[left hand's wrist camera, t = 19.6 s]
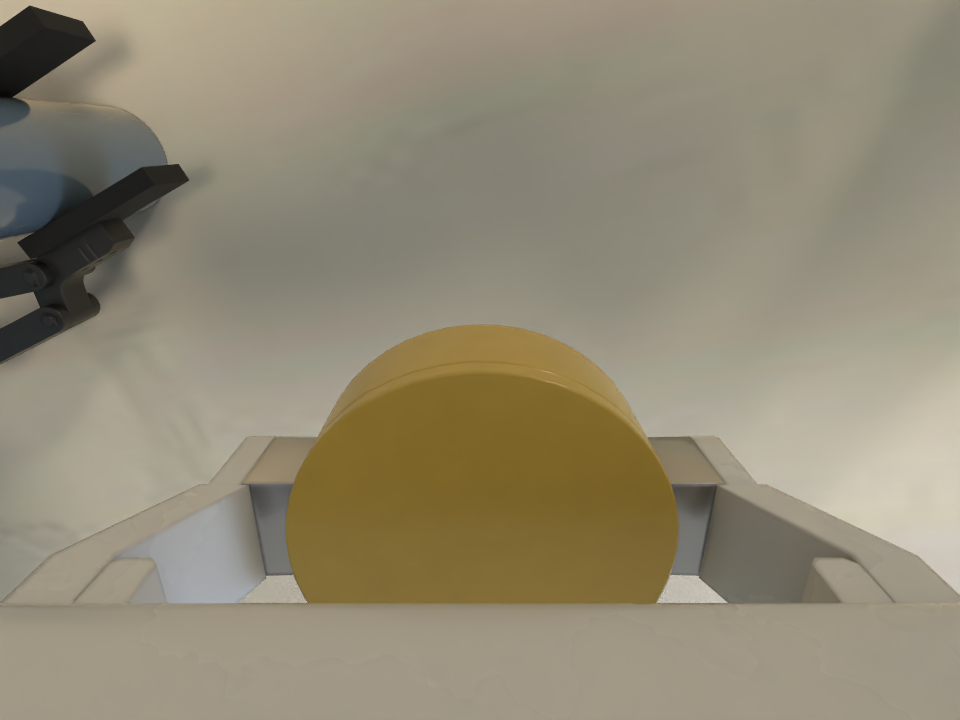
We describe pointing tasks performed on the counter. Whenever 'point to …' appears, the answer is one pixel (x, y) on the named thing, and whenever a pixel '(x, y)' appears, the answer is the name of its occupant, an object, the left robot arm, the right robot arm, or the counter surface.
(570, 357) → the lid
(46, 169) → the jar
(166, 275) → the counter surface
